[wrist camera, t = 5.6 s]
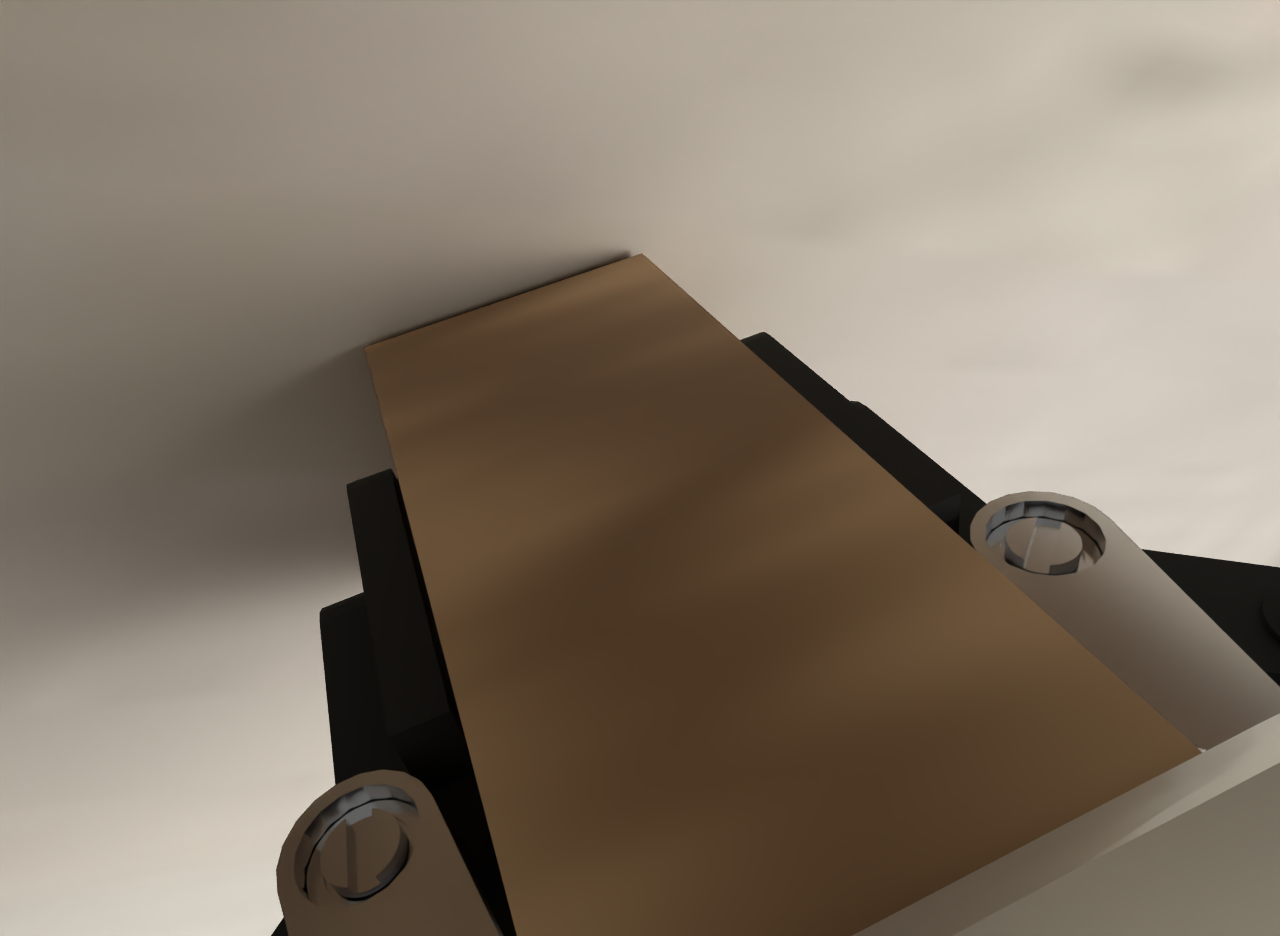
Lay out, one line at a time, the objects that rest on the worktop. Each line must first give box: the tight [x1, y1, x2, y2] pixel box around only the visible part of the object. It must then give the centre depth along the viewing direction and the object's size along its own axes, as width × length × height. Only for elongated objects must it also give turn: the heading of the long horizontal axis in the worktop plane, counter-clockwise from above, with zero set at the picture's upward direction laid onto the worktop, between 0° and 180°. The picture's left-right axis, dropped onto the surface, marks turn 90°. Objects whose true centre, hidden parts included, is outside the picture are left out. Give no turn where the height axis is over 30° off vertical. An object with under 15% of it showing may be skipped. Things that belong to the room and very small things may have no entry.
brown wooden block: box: [364, 253, 1203, 936], centre depth 9 cm, size 4×4×10 cm
